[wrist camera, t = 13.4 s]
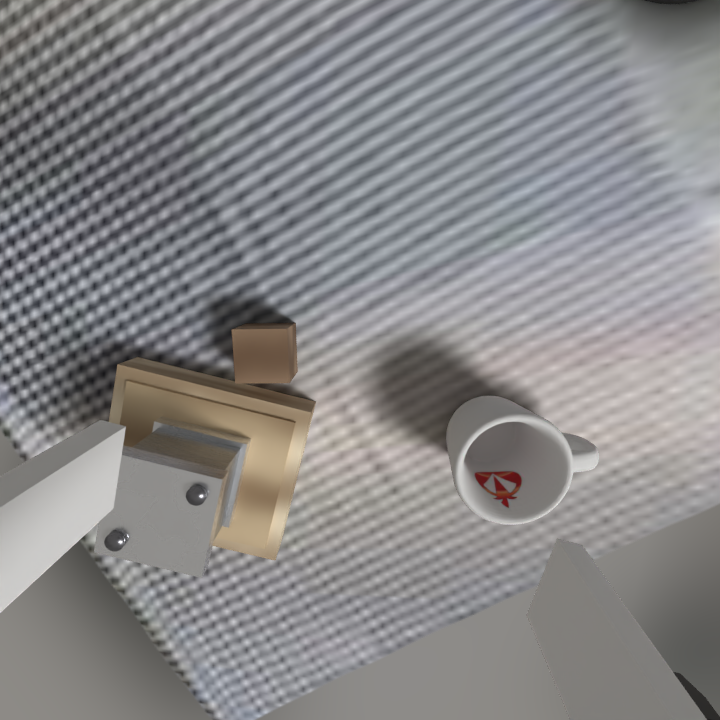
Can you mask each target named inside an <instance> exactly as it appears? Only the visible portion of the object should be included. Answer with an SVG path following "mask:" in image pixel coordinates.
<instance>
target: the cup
mask: <svg viewBox="0 0 720 720" xmlns="http://www.w3.org/2000/svg"><path fill="white" fill-rule="evenodd" d="M446 442H447V449H448V454H449V459H450V465H451V470H452V475H453V480H454V484H455V487H456V490H457V492H458V494H459V496H460V498H461V499H462V501H463V502H464V503H465V505H466V506H467V507H468V508H469V509H470V510H471V511H473V512H474V513H475V514H477V515H478V516H480V517H482V518H484V519H486V520H488V521H491V522H494V523H499V524H507V525H515V524H523V523H527V522H531V521H534V520H536V519H538V518H540V517H542V516H544V515H546V514H547V513H548V512H550V511H551V510H552V509H554V508H555V507H556V506H557V505H558V504H559V503H560V501H561V500H562V499H563V497H564V496H565V494H566V492H567V490H568V489H569V486H570V483H571V480H572V476H573V472H582V471H588V470H591V469H593V468H595V467H596V466H597V464H598V460H599V452H598V449H597V447H596V446H595V445H594V444H592V443H591V442H589V441H588V440H586V439H584V438H582V437H579V436H576V435H572V434H567V433H561V432H560V430H559V429H558V428H557V427H555V426H554V425H553V424H552V423H551V422H549V421H548V420H546V419H544V418H542V417H541V416H539V415H537V414H535V413H533V412H531V411H529V410H527V409H525V408H524V407H522V406H520V405H518V404H516V403H514V402H512V401H510V400H508V399H505V398H502V397H498V396H480V397H476V398H473V399H471V400H469V401H467V402H465V403H464V404H463V405H461V406H460V407H459V408H458V409H457V410H456V411H455V413H454V414H453V416H452V417H451V419H450V421H449V424H448V427H447V434H446Z"/></svg>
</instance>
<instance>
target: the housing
mask: <svg viewBox="0 0 720 720" xmlns="http://www.w3.org/2000/svg"><path fill="white" fill-rule="evenodd" d="M250 442H251V438H247V437H243V436H239V435H235V434H231V433H227V432H223V431H219V430H215V429H211V428H207V427H203V426H199V425H194V424H190V423H186V422H182V421H178V420H174V419H170V418H166V417H162V416H161V417H160V418H158V419H157V420H155V421H154V425H153V431H152V433H151V434H150V435H148V436H147V437H146V438H144V439H143V440H141V441H140V442H139V443H137V444H136V445H135V446H133V447H132V448H131V447H127V446H123V449H122V456H121V462H120V469H119V475H118V482H117V488H116V495H115V501H114V508H113V509H112V510H111V511H110V512H109V513H108V514H107V515H106V516H105V517H104V518H103V519H102V520H100V521H99V525H98V531H97V537H96V544H95V550H94V552H95V553H99V554H104V555H108V556H112V557H116V558H120V559H125V560H129V561H133V562H137V563H142V564H146V565H150V566H154V567H159V568H163V569H167V570H171V571H175V572H180V573H184V574H188V575H192V576H197V577H201V578H202V576H203V574H204V572H205V571H206V569H207V567H208V564H209V559H210V555H211V550H212V545H213V541H214V540H215V538H216V536H217V534H218V533H219V531H220V529H221V527H222V526H224V527H228V528H229V526H230V525H231V523H232V521H233V519H234V514H235V510H236V505H237V500H238V496H239V491H240V487H241V482H242V478H243V473H244V469H245V464H246V460H247V455H248V451H249V446H250Z"/></svg>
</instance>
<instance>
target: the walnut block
mask: <svg viewBox="0 0 720 720" xmlns="http://www.w3.org/2000/svg"><path fill="white" fill-rule="evenodd" d="M232 343H233V358H234V373H235V384H239V383H290V382H291V380H292V379H293V377H294V376H295V374H296V373H297V372H298V370H297V346H296V323H246V324H243V325H241V326H239V327H236V328H234V329H232Z"/></svg>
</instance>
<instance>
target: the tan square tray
mask: <svg viewBox="0 0 720 720" xmlns="http://www.w3.org/2000/svg"><path fill="white" fill-rule="evenodd" d="M315 403H316V402H315V401H311V400H307V399H303V398H299V397H295V396H291V395H287V394H283V393H279V392H275V391H271V390H267V389H263V388H259V387H255V386H251V385H247V384H243V383H239V384H235V381H231V380H227V379H223V378H219V377H215V376H211V375H207V374H204V373H200V372H196V371H192V370H188V369H184V368H180V367H176V366H172V365H168V364H164V363H160V362H156V361H152V360H148V359H144V358H140V357H136V358H133V359H131V360H128V361H125V362H122V363H120V364H118V365H117V371H116V378H115V384H114V391H113V397H112V404H111V410H110V416H109V422H111V423H115V424H119V425H123V426H126V430H125V436H124V443H123V446H127V447H131V448H132V447H133V446H135V445H136V444H137V443H139V442H140V441H141V440H143V439H144V438H146V437H147V436H148V435H150V434H151V433H152V431H153V425H154V421H155V420H157V419H158V418H160V417H161V416H162V417H166V418H170V419H174V420H178V421H182V422H186V423H190V424H194V425H199V426H203V427H207V428H211V429H215V430H219V431H223V432H227V433H231V434H235V435H239V436H243V437H247V438H251V442H250V446H249V451H248V455H247V460H246V464H245V469H244V473H243V478H242V482H241V487H240V491H239V496H238V500H237V505H236V510H235V514H234V519H233V521H232V523H231V525H230V526H229V528H228V527H224V526H222V527H221V529H220V531H219V533H218V534H217V536H216V538H215V540H214V541H213V545H212V546H216V547H221V548H225V549H229V550H233V551H237V552H242V553H246V554H250V555H254V556H258V557H263V558H267V559H271V560H276V556H277V553H278V550H279V547H280V544H281V541H282V537H283V533H284V529H285V525H286V521H287V517H288V513H289V509H290V505H291V501H292V497H293V493H294V488H295V484H296V480H297V476H298V472H299V468H300V464H301V460H302V456H303V452H304V448H305V444H306V440H307V436H308V432H309V428H310V424H311V420H312V415H313V411H314V407H315Z"/></svg>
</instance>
